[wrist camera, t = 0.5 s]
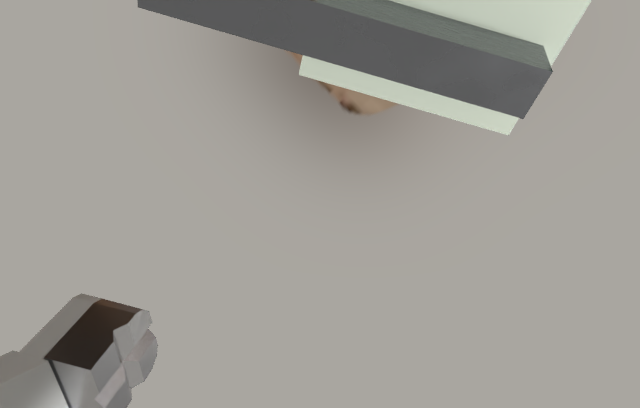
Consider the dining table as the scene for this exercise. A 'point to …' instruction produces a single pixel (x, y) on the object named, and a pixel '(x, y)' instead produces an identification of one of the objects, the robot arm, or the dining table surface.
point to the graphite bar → (385, 44)
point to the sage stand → (476, 9)
